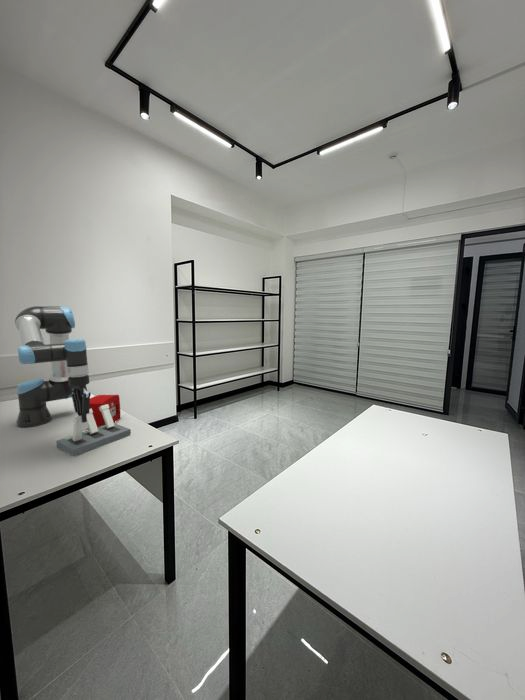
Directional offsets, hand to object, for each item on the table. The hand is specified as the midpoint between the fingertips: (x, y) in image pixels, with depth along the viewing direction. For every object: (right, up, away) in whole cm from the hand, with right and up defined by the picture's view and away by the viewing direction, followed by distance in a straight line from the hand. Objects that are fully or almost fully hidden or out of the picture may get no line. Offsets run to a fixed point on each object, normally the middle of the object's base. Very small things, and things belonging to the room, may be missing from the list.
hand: (83, 429), depth 125 cm
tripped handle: (-6, -7, +5) cm, 10 cm away
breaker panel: (-2, -9, +12) cm, 15 cm away
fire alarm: (-9, -6, +33) cm, 35 cm away
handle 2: (+3, -5, +18) cm, 19 cm away
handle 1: (-2, -6, +12) cm, 13 cm away
